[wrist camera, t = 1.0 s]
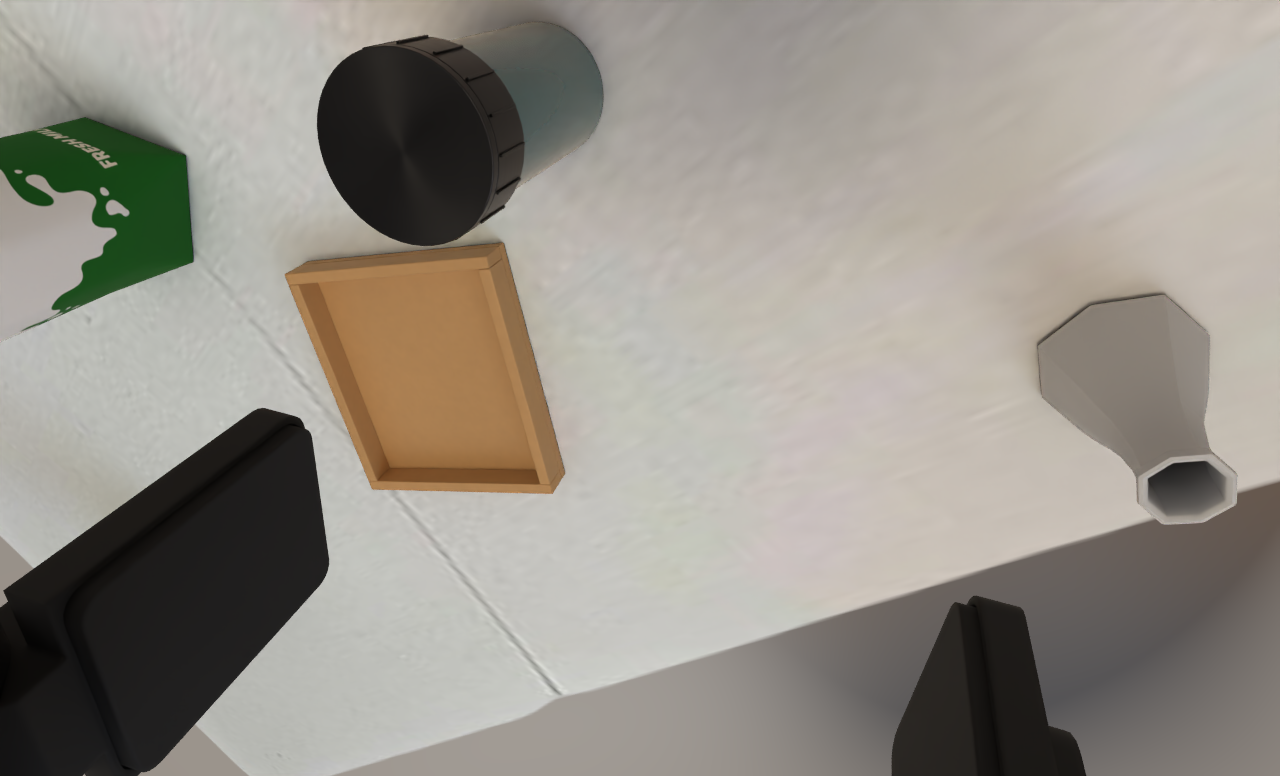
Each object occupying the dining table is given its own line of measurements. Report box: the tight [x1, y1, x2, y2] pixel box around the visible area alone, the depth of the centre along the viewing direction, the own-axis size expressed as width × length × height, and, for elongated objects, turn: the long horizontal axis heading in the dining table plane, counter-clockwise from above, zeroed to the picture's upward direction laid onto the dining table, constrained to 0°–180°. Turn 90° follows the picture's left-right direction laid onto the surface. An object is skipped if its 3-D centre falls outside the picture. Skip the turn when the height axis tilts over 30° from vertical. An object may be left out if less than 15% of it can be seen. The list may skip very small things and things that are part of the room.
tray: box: [285, 243, 565, 494], centre depth 47 cm, size 15×13×2 cm
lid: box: [317, 35, 525, 246], centre depth 28 cm, size 7×7×3 cm
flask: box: [1038, 295, 1238, 525], centre depth 32 cm, size 7×7×10 cm
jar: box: [448, 22, 603, 189], centre depth 32 cm, size 6×6×12 cm
